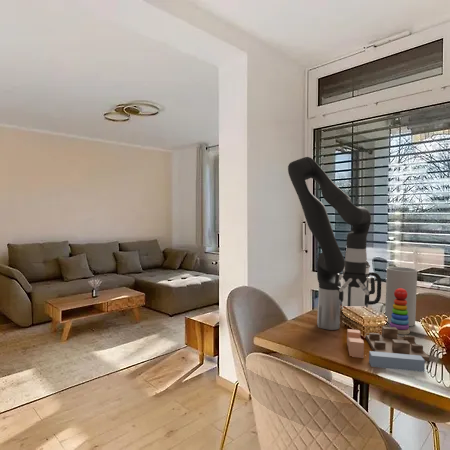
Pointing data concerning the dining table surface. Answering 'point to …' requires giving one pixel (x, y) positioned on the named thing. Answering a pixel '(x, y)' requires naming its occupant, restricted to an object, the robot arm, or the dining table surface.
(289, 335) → the dining table surface
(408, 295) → the cylinder vase
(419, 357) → the blue-grey rectangular bar
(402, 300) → the stacking toy
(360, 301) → the coffee press
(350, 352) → the pink u-shaped block
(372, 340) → the jig
